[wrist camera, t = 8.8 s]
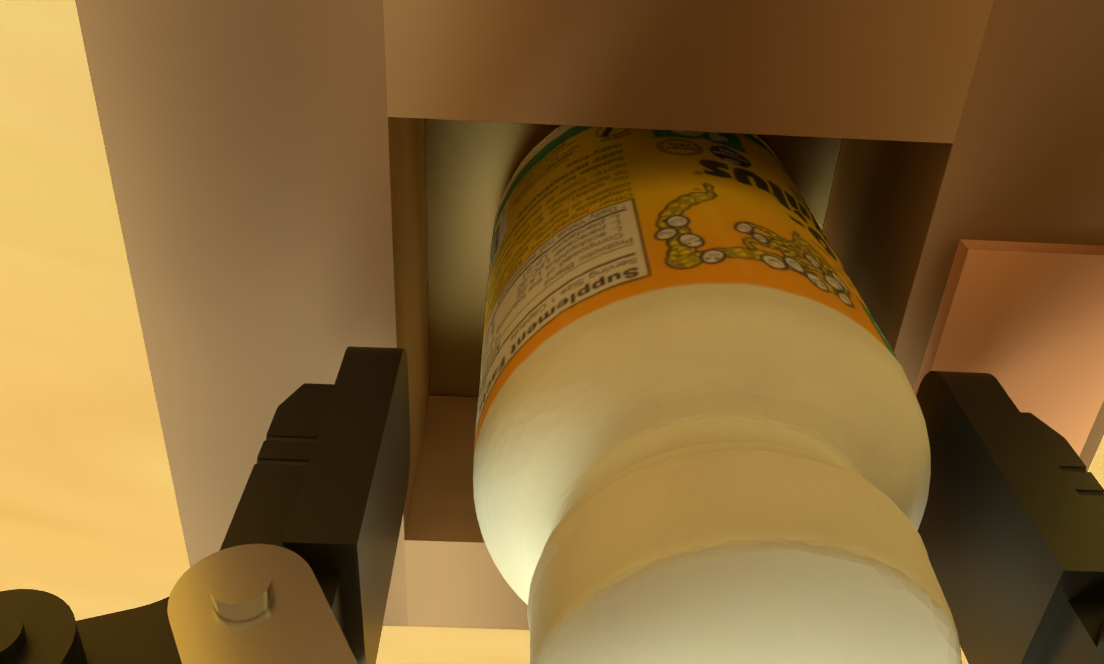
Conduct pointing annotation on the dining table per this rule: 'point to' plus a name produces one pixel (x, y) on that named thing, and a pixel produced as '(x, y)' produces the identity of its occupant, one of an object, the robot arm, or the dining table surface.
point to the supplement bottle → (694, 418)
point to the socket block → (579, 100)
